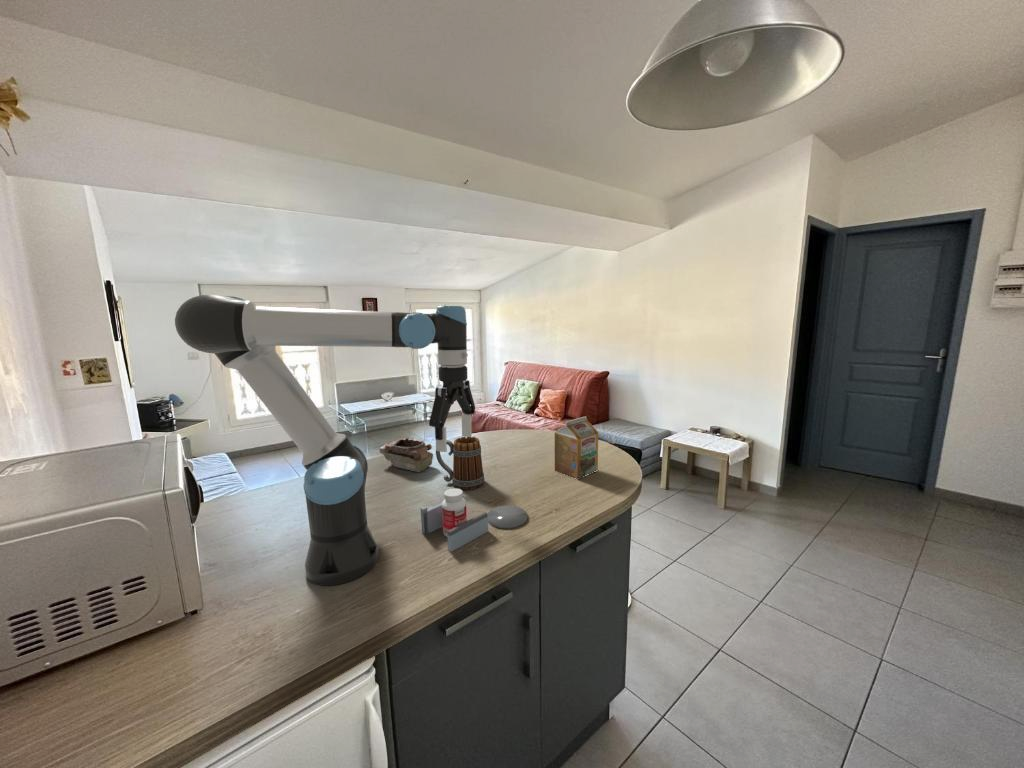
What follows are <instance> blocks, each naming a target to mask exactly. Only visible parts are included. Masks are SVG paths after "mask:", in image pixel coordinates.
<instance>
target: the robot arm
mask: <svg viewBox="0 0 1024 768" xmlns="http://www.w3.org/2000/svg"><path fill="white" fill-rule="evenodd" d="M175 313H176V314H175V318H174V325H175V326H174V327H175V329H176V333H177V335H178V336H179V337H180V338H181V340H182V341H183V342H184V343H186V345H187V346H189V347H191V348H192V349H194V350H197V351H199V352H203V353H206V354H207V353H208V354H214V355H215V356H216V358H217V359H218V360H219V361H220V363H221V364H222V366H223V367H225V368H228V369H231V370H232V369H233V370H236V371H237V372H238V373H239V374H240V375H241V377H242V378H243V379H244V380H245V382H246V383H247V384H248V386H249V387H250V388H251V389H252V391H253V392H254V394H256V396H257V397H258V398H259V400H260V401H261V402H262V403H263V405H264V406H265V407H266V408H267V410H268V411H269V413H270V414H272V416H273V417H274V419H275V420H276V421H277V423H278V424H279V425H280V426H281V428H282V430H284V431H285V433H286V434H287V435H288V436H289V438H290V439H291V441H293V443H294V444H295V445H296V447H297V449H299V451H300V452H301V454H302V455H303V456H302V460H301V465H302V466H303V467H304V468H305V470H306V471H305V473H304V477H303V479H304V480H303V490H304V495H305V500H306V501H305V502H306V509H307V510H306V511H307V516H308V517H307V518H308V524H309V533H310V541H309V546H308V549H307V554H306V558H305V562H304V568H305V569H304V570H305V576H306V578H307V580H308V581H310V582H311V583H314V584H315V585H321V586H337V585H340V584H341V585H342V584H345V583H349V582H351V581H354V580H356V579H359V578H360V577H362V576H364V575H365V574H367V573H368V572H369V571H371V569H373V567H375V565H376V564H377V562H378V560H379V547H378V543H377V542H376V539H375V537H374V535H373V534H372V531H371V529H370V528H369V526H368V516H367V506H366V495H365V493H366V492H365V491H366V482H367V476H368V471H369V469H368V467H369V464H368V460H367V457H366V455H365V453H364V452H363V451H362V449H361V448H360V447H358V446H357V445H355V444H353V443H352V442H351V440H350V439H349V438H348V436H347V434H344V433H340V432H339V433H337V432H336V431H335V430H334V428H333V427H332V426H331V424H330V423H329V421H328V420H327V419H326V418H325V416H324V415H323V414H322V412H321V411H320V410H319V408H318V406H317V405H316V404H315V403H314V401H313V400H312V399H311V397H310V396H309V395H308V393H307V392H306V391H305V389H304V388H303V386H302V385H301V384H300V382H299V381H298V380H297V379H296V377H295V375H294V374H293V373H292V372H291V370H290V369H289V368H288V366H287V365H286V363H285V362H284V360H283V359H282V358H281V357H280V355H279V354H278V353H277V351H276V346H278V347H279V346H283V347H285V346H286V347H287V346H288V347H361V348H362V347H367V348H371V347H372V348H409V349H413V350H414V349H415V350H418V349H419V350H421V349H425V348H426V347H428V346H429V345H430V344H437V364H438V365H439V367H438V368H437V369H438V370H437V371H438V380H439V381H440V382H442V387H440V386H439V387H438V386H437V387H435V390H434V391H435V392H434V394H435V395H434V401H433V405H432V409H431V413H430V418H429V422H428V424H429V427H433V428H434V435H435V436H434V438H435V452H436V451H440V453H442V452H443V453H446V452H448V448H447V447H448V445H447V442H446V440H447V426H445V424H446V421H447V418H448V415H449V413H450V409H451V407H452V406H453V405H454V403H455V402H457V403H458V405H459V407H460V409H461V411H462V413H461V437H466V438H467V437H473V436H472V415H474V414H475V413H476V405H475V402H474V398H473V394H472V391H471V385H470V380H468V367H467V366H466V365H467V364H468V357H469V356H468V351H467V350H468V347H467V346H468V343H467V341H468V340H467V337H468V336H467V335H468V333H467V332H468V331H467V330H468V329H467V325H468V323H467V312H466V308H465V307H464V306H462V305H438V306H437V307H436V311H435V312H434V313H423V312H401V311H400V312H396V311H395V312H393V311H372V310H370V311H369V310H348V309H347V310H346V309H325V308H323V309H322V308H301V307H299V308H298V307H273V306H258V305H256V304H255V303H254V302H253V301H250V300H246V299H243V298H240V297H237V296H230V295H229V296H225V295H223V296H222V295H216V294H201V295H196V296H194V297H191V298H188V299H187V300H185V301H184V302H183V303H182V304H180V307H178V309H177V311H176V312H175Z"/></svg>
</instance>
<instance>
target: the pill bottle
mask: <svg viewBox="0 0 1024 768" xmlns="http://www.w3.org/2000/svg"><path fill="white" fill-rule="evenodd" d="M463 491H464V490H462V489H458V488H456V487H455V488H449V489H446V490H445V491H444V493H443V498H444V500H442V501H441V503H442V521H443V526H442V533H443V535H444V536H445V537H446V538H447V535H448V531H449V530H451V529H453V528H455V527H456V526H458V525H460V524H462V523H464V522H466V521H468V518H467V516H468V515H467V501H466V499H465V498H464V495H463V493H464V492H463Z"/></svg>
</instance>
